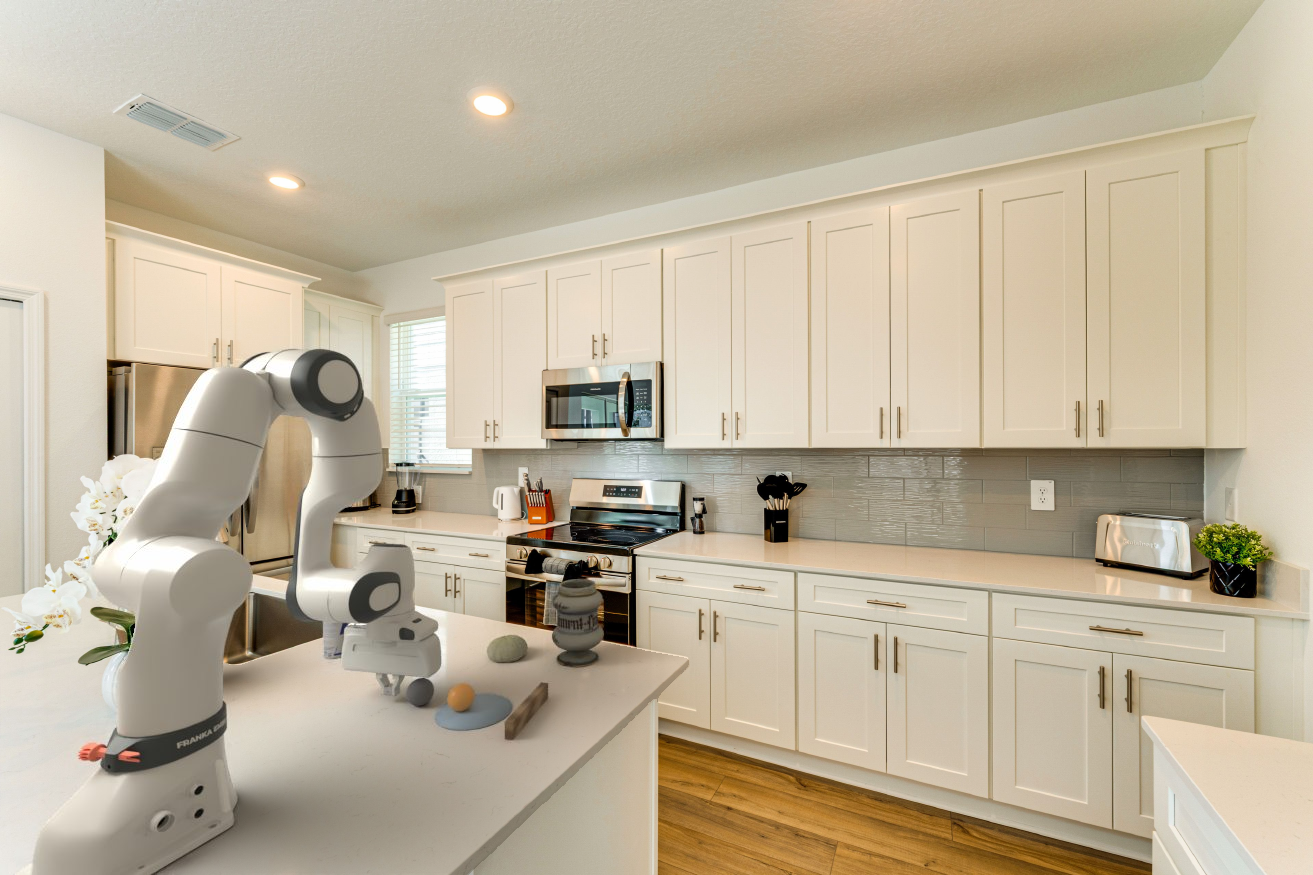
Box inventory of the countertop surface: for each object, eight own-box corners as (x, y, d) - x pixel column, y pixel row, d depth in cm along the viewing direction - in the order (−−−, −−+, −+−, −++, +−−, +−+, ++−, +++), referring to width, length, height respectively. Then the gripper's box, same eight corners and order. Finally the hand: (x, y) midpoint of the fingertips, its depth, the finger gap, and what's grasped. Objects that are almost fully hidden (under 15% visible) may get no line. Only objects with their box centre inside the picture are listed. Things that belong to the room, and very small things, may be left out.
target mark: (490, 733, 99) (490, 732, 99) (419, 725, 102) (419, 724, 102) (524, 697, 113) (524, 696, 113) (460, 691, 116) (460, 690, 116)
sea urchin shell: (480, 646, 136) (504, 619, 139) (504, 665, 139) (527, 639, 141) (486, 659, 128) (511, 631, 130) (511, 679, 130) (535, 651, 133)
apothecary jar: (543, 666, 129) (543, 587, 128) (564, 647, 140) (564, 575, 140) (593, 671, 126) (593, 591, 126) (610, 651, 137) (610, 578, 137)
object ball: (440, 712, 106) (464, 719, 105) (443, 687, 106) (467, 693, 105) (455, 700, 111) (478, 706, 110) (458, 675, 111) (481, 681, 110)
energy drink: (353, 651, 138) (353, 602, 138) (338, 659, 133) (338, 608, 133) (332, 650, 138) (332, 601, 138) (317, 658, 133) (317, 608, 133)
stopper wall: (512, 739, 97) (512, 722, 97) (504, 738, 98) (504, 721, 98) (548, 697, 113) (548, 682, 113) (541, 696, 113) (541, 682, 113)
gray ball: (403, 682, 108) (399, 706, 108) (427, 688, 108) (423, 713, 108) (417, 670, 113) (413, 694, 113) (440, 676, 112) (436, 700, 113)
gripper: (332, 626, 110) (333, 696, 110) (426, 633, 106) (427, 706, 106) (356, 616, 116) (356, 682, 116) (445, 622, 112) (445, 691, 112)
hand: (390, 694), depth 111 cm, fingers closed
